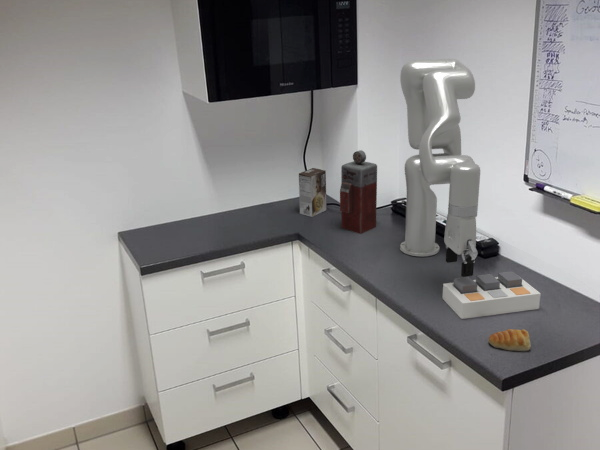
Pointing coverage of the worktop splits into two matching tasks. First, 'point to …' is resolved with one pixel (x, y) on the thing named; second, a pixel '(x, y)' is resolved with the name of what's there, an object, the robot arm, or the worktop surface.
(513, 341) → the pastry
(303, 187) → the coffee box
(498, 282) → the button
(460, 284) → the button
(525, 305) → the switch box
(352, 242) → the worktop surface
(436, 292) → the worktop surface
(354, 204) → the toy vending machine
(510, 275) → the button
